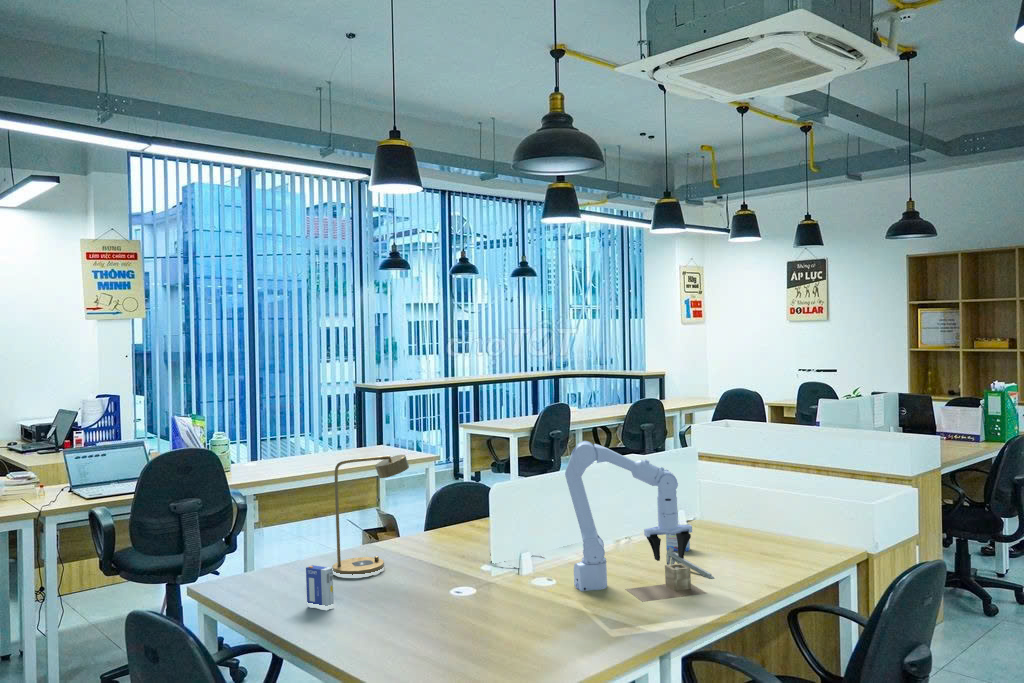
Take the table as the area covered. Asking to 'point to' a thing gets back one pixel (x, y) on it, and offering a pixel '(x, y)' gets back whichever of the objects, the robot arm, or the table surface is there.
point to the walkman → (319, 585)
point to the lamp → (348, 566)
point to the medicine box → (674, 542)
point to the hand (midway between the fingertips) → (669, 558)
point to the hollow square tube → (677, 577)
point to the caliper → (685, 563)
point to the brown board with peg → (662, 592)
